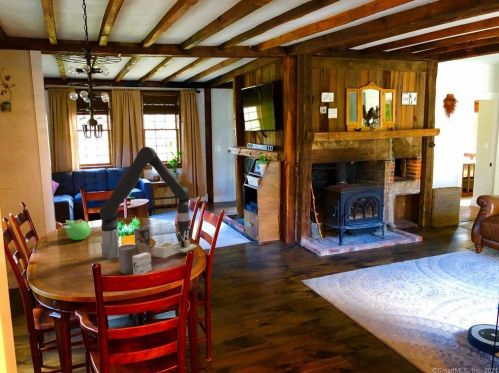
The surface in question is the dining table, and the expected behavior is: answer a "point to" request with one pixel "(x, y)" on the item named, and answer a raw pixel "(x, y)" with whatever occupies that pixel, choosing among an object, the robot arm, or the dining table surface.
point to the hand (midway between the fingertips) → (184, 246)
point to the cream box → (164, 250)
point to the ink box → (142, 263)
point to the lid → (187, 246)
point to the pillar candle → (126, 258)
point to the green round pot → (77, 229)
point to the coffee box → (142, 240)
